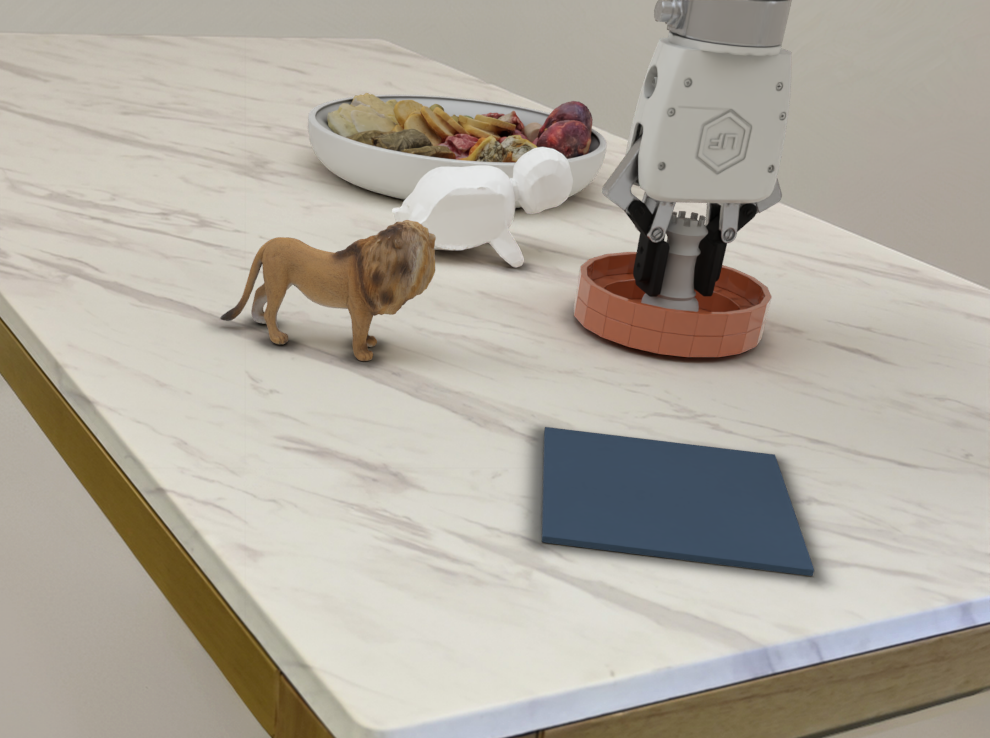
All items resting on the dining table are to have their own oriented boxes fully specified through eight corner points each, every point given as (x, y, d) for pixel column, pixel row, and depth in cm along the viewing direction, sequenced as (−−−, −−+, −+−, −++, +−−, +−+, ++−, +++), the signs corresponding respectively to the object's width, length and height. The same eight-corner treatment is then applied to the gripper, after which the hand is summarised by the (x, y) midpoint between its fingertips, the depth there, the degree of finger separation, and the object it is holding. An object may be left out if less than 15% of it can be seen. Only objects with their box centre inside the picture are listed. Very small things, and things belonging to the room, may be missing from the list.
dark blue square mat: (773, 460, 77) (775, 454, 77) (812, 576, 65) (814, 569, 65) (544, 432, 78) (545, 426, 78) (541, 542, 66) (542, 536, 66)
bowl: (333, 215, 114) (338, 124, 110) (286, 136, 139) (289, 59, 134) (643, 222, 121) (659, 136, 116) (545, 145, 145) (555, 72, 141)
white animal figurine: (425, 301, 106) (596, 239, 105) (396, 204, 101) (574, 139, 100) (408, 268, 113) (568, 210, 112) (379, 176, 108) (546, 115, 107)
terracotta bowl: (746, 307, 101) (757, 263, 99) (771, 372, 89) (784, 323, 88) (572, 288, 102) (579, 243, 100) (573, 349, 90) (582, 300, 88)
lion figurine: (432, 343, 89) (445, 215, 84) (419, 371, 85) (433, 236, 80) (230, 315, 91) (232, 187, 86) (208, 340, 86) (208, 207, 81)
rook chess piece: (632, 309, 97) (652, 204, 93) (690, 314, 97) (713, 210, 93) (641, 330, 94) (662, 221, 89) (701, 335, 94) (725, 227, 89)
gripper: (635, 26, 79) (587, 308, 89) (867, 38, 83) (797, 307, 93) (591, 7, 86) (551, 274, 95) (810, 19, 89) (749, 274, 99)
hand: (673, 288), depth 94 cm, fingers open, 3 cm apart
